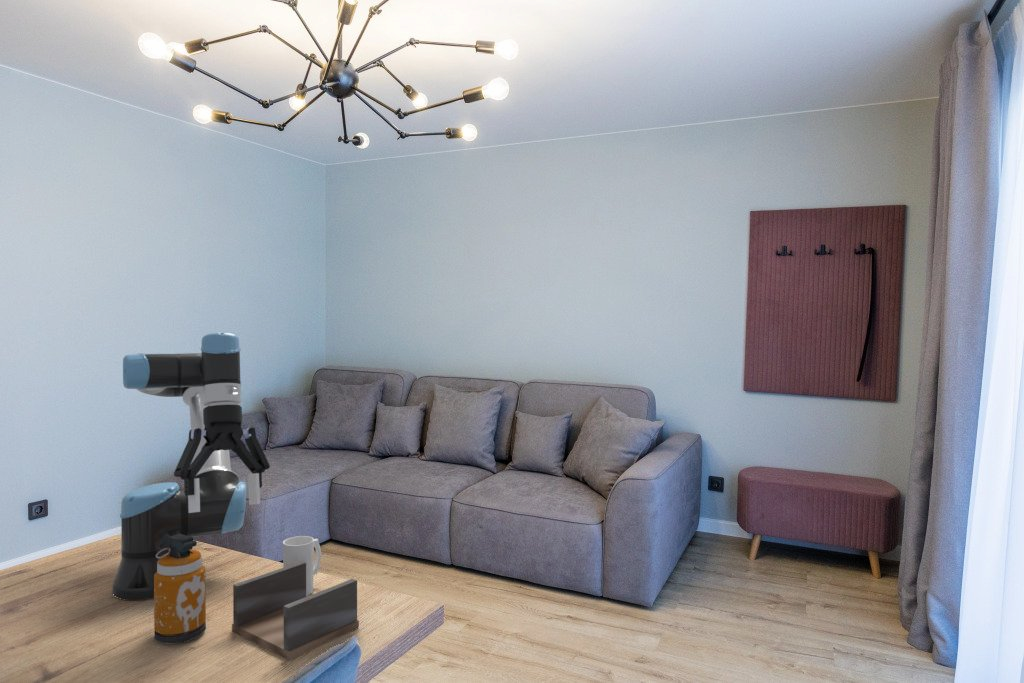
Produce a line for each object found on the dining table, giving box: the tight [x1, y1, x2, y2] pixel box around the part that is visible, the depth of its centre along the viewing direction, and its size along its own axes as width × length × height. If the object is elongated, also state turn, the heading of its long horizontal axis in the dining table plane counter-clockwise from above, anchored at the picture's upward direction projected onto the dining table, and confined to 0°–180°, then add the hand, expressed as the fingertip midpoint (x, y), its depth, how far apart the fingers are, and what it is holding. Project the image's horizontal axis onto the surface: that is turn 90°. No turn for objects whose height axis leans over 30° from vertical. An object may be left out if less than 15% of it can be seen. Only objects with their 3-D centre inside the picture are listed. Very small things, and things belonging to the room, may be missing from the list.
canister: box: [153, 531, 207, 645], centre depth 127 cm, size 9×11×20 cm
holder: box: [231, 561, 360, 661], centre depth 130 cm, size 19×16×10 cm
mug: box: [282, 535, 322, 597], centre depth 149 cm, size 10×7×12 cm, turn 150°
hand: (225, 508), depth 133 cm, fingers open, 13 cm apart
